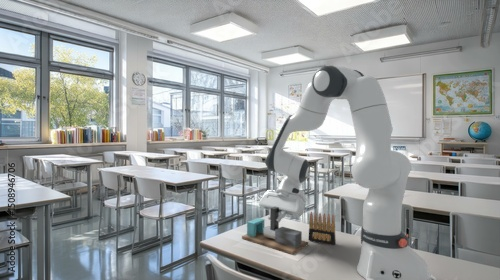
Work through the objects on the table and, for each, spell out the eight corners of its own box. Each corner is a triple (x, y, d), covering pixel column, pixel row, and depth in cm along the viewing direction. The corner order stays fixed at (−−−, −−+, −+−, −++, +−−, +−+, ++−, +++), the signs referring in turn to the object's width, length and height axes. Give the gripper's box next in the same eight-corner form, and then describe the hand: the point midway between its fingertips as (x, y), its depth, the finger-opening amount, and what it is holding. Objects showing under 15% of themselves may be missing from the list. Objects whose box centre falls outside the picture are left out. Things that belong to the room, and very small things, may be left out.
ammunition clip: (335, 243, 118) (336, 214, 117) (334, 245, 116) (335, 215, 116) (309, 239, 123) (309, 210, 122) (308, 240, 121) (308, 211, 120)
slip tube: (297, 241, 115) (297, 211, 114) (292, 244, 112) (293, 213, 112) (268, 233, 124) (268, 205, 123) (263, 235, 121) (263, 206, 121)
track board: (308, 244, 117) (308, 229, 116) (292, 254, 107) (292, 238, 107) (259, 230, 132) (259, 217, 132) (241, 238, 123) (241, 224, 123)
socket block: (264, 232, 128) (264, 219, 127) (253, 237, 122) (253, 223, 122) (257, 230, 130) (257, 217, 130) (247, 235, 124) (247, 221, 124)
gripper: (264, 185, 131) (250, 211, 124) (305, 191, 118) (292, 221, 111) (270, 193, 134) (256, 219, 127) (310, 200, 121) (298, 229, 114)
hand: (273, 220), depth 119 cm, fingers closed on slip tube, 2 cm apart
